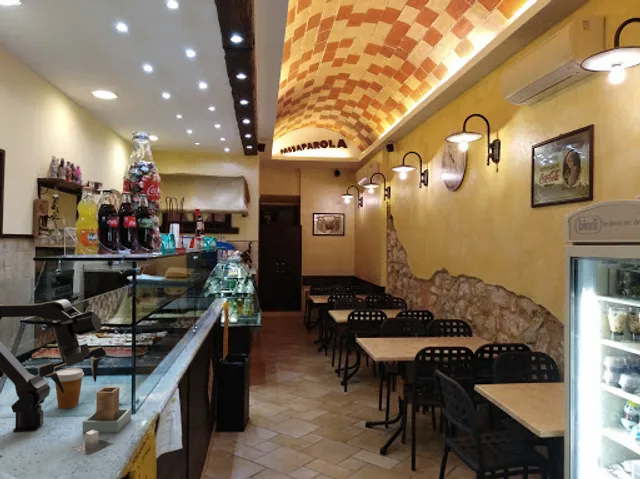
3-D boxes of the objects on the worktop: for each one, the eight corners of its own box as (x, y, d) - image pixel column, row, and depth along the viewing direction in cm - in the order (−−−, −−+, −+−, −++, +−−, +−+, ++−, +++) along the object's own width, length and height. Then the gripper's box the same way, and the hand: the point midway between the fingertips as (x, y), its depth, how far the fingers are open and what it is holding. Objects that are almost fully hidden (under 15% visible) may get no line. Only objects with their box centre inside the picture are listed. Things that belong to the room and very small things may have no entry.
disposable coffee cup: (62, 412, 157) (62, 377, 157) (47, 406, 162) (47, 372, 162) (89, 404, 165) (89, 370, 165) (73, 398, 170) (74, 366, 170)
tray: (82, 434, 140) (82, 421, 140) (97, 420, 151) (98, 408, 151) (118, 435, 141) (118, 422, 141) (130, 421, 151) (131, 408, 151)
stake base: (69, 450, 130) (69, 434, 130) (94, 439, 137) (94, 424, 137) (88, 457, 127) (88, 440, 127) (113, 445, 134) (113, 429, 134)
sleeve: (96, 427, 143) (96, 392, 143) (102, 421, 148) (103, 387, 148) (112, 428, 143) (113, 392, 143) (118, 421, 148) (119, 387, 148)
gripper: (34, 351, 133) (48, 403, 134) (103, 330, 144) (116, 378, 145) (32, 349, 142) (45, 398, 143) (96, 329, 153) (108, 374, 154)
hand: (79, 387), depth 146 cm, fingers open, 9 cm apart
